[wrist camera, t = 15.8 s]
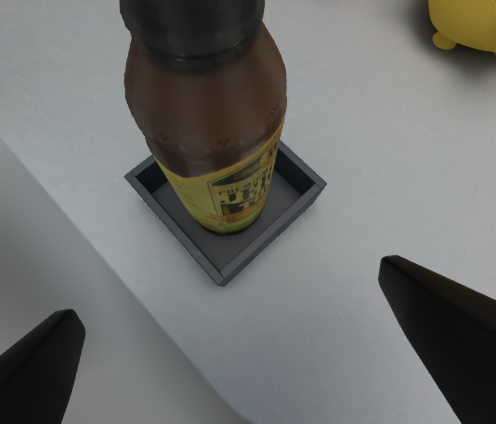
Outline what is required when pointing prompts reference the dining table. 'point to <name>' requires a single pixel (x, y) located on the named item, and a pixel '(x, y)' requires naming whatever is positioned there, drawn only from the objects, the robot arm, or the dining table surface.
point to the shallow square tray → (249, 240)
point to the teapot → (464, 23)
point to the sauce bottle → (208, 102)
